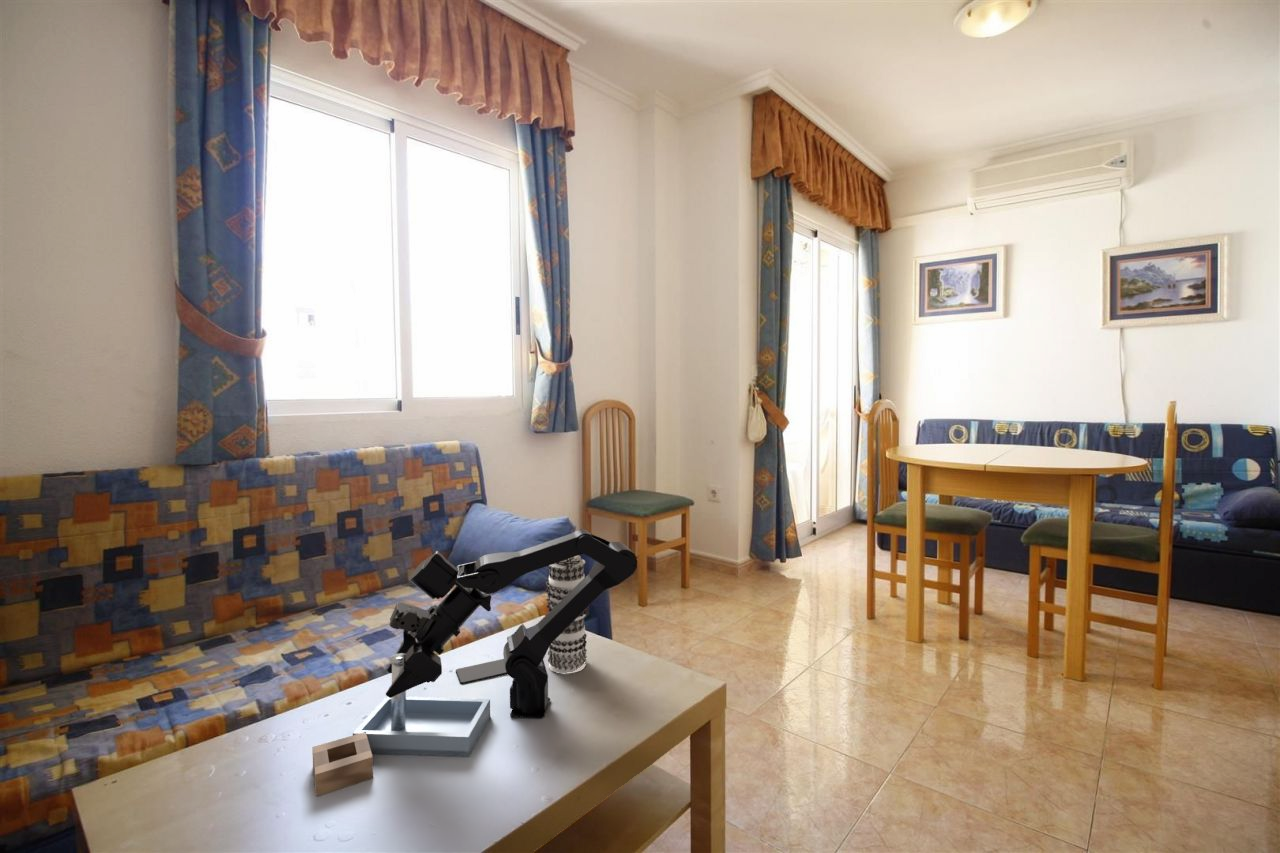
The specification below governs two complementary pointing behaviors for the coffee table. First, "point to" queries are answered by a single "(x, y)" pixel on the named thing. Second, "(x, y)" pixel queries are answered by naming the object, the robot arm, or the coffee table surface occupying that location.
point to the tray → (428, 727)
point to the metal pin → (398, 696)
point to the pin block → (342, 763)
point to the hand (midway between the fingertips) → (388, 683)
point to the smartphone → (481, 671)
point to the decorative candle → (571, 642)
